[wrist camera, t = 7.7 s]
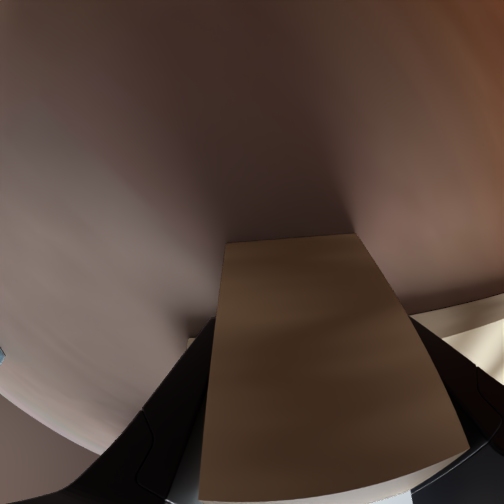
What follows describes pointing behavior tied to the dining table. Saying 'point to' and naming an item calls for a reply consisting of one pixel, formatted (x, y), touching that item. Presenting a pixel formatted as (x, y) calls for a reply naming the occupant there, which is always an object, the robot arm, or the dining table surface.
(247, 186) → the dining table surface
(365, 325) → the block
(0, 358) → the milk carton
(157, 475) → the robot arm
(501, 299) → the board
